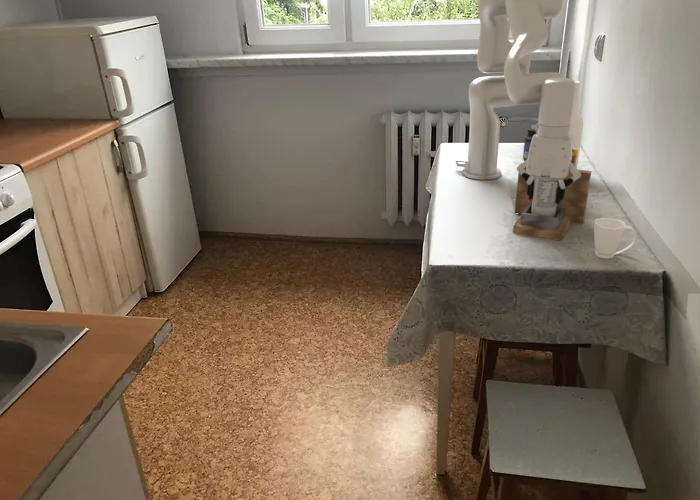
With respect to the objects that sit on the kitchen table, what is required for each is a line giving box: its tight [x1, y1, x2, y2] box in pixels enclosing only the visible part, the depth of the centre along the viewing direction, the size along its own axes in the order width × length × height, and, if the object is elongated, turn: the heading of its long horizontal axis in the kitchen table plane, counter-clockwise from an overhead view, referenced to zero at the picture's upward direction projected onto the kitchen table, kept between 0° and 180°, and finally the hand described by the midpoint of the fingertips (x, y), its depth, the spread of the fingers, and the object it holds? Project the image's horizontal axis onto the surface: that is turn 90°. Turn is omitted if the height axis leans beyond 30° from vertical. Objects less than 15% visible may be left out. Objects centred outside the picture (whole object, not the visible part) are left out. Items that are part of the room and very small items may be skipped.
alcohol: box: [569, 80, 584, 170], centre depth 183 cm, size 9×9×30 cm
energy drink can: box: [531, 169, 559, 217], centre depth 148 cm, size 6×6×15 cm
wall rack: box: [512, 162, 592, 241], centre depth 150 cm, size 18×15×14 cm
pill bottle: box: [522, 127, 536, 162], centre depth 204 cm, size 6×6×11 cm
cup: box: [593, 217, 638, 260], centre depth 135 cm, size 7×10×8 cm
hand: (544, 199), depth 149 cm, fingers open, 6 cm apart
